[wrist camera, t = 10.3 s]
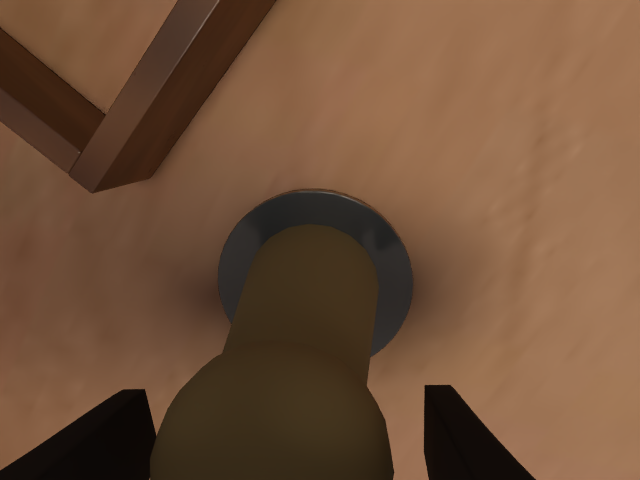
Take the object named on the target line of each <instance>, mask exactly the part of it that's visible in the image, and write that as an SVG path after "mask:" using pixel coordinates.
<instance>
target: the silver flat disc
mask: <svg viewBox="0 0 640 480" xmlns="http://www.w3.org/2000/svg"><path fill="white" fill-rule="evenodd" d="M305 224H315V225H323V226H331V227H333V228H335V229H337V230H339V231H341V232H344V233H346V234H348V235H350V236H351V237H352V238H354V239H355V240H356V241H357V242H358V243H359V244H360V245H361V246H362V247H363V248H364V249H366V251H367V253H368V255H369V256H370V258H371V260H372V262H373V264H374V265H375V267H376V272H377V278H378V284H379V291H378V299H377V307H376V315H375V323H374V331H373V339H372V346H371V354H370V357H371V356H373V355H375V354H376V353H378V352H379V351H380V350H381V349H383V348H384V347H385V346H386V345H387V344H388V343H389V342H390V341H391V340H392V339H393V338H394V336H395V335H396V334H397V332H398V331H399V329H400V328H401V326H402V324H403V322H404V321H405V319H406V316H407V313H408V311H409V308H410V304H411V299H412V293H413V275H412V268H411V264H410V259H409V257H408V254H407V251H406V249H405V246H404V244H403V243H402V241H401V239H400V237H399V235H398V234H397V232H396V231H395V230H394V228H393V227H392V226H391V224H390V223H389V222H388V221H387V220H386V219H385V218H384V217H383V216H382V215H381V214H380V213H378V212H377V211H376V210H375V209H373V208H372V207H371V206H369V205H367V204H366V203H364V202H362V201H360V200H359V199H356V198H354V197H351V196H349V195H347V194H343V193H339V192H336V191H331V190H323V189H303V190H295V191H290V192H286V193H283V194H280V195H277V196H275V197H272V198H270V199H268V200H266V201H264V202H263V203H261V204H259V205H258V206H256V207H255V208H254V209H253V210H251V211H250V212H249V213H248V214H246V215H245V216H244V217H243V218H242V220H241V221H240V222H239V223H238V224H237V225H236V226H235V228H234V229H233V231H232V232H231V233H230V235H229V237H228V239H227V241H226V243H225V245H224V248H223V251H222V253H221V257H220V262H219V267H218V287H219V294H220V298H221V302H222V305H223V308H224V310H225V313H226V315H227V317H228V319H229V321H230V322H231V324H232V321H233V318H234V315H235V312H236V309H237V306H238V303H239V299H240V296H241V293H242V290H243V287H244V284H245V281H246V278H247V274H248V271H249V268H250V266H251V264H252V261H253V259H254V257H255V254H256V252H257V251H258V250H259V249H260V248H261V247H262V245H263V244H264V243H265V242H266V241H267V240H268V239H269V238H270V237H271V236H273V235H275V234H277V233H279V232H281V231H283V230H284V229H286V228H288V227H294V226H299V225H305Z"/></svg>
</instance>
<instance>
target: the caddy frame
mask: <svg viewBox="0 0 640 480" xmlns="http://www.w3.org/2000/svg"><path fill="white" fill-rule="evenodd" d="M275 1H276V0H178V1H177V3H176V4H175V6H174V8H173V9H172V11H171V12H170V14H169V16H168V17H167V19H166V20H165V22H164V24H163V25H162V27H161V28H160V30H159V31H158V33H157V35H156V36H155V38H154V39H153V41H152V43H151V44H150V46H149V47H148V49H147V51H146V52H145V54H144V55H143V57H142V58H141V60H140V62H139V63H138V65H137V66H136V68H135V70H134V71H133V73H132V74H131V76H130V78H129V79H128V81H127V82H126V84H125V86H124V87H123V89H122V90H121V92H120V93H119V95H118V97H117V98H116V100H115V101H114V103H113V105H112V106H111V108H110V109H109V111H108V113H107V114H106V116H105V115H104V114H103V113H102V112H100V111H99V110H98V109H97V108H96V107H94V106H93V105H92V104H91V103H89V102H88V101H87V100H86V99H85V98H83V97H82V96H81V95H80V94H79V93H77V92H76V91H75V90H74V89H73V88H71V87H70V86H69V85H68V84H66V83H65V82H64V81H63V80H62V79H60V78H59V77H58V76H57V75H56V74H54V73H53V72H52V71H51V70H50V69H48V68H47V67H46V66H45V65H43V64H42V63H41V62H40V61H39V60H37V59H36V58H35V57H34V56H33V55H31V54H30V53H29V52H28V51H27V50H25V49H24V48H23V47H22V46H21V45H19V44H18V43H17V42H16V41H14V40H13V39H12V38H11V37H10V36H8V35H7V34H6V33H5V32H4V31H2V30H1V29H0V121H1V122H2V123H3V124H5V125H6V126H7V127H9V128H10V129H11V130H12V131H14V132H15V133H16V134H17V135H19V136H20V137H21V138H23V139H24V140H25V141H26V142H28V143H29V144H30V145H31V146H33V147H34V148H35V149H37V150H38V151H39V152H40V153H42V154H43V155H44V156H45V157H47V158H48V159H49V160H50V161H52V162H53V163H54V164H56V165H57V166H58V167H59V168H61V169H62V170H63V171H64V172H66V173H68V174H69V176H70V177H71V178H73V179H74V180H75V181H76V182H78V183H79V184H80V185H81V186H83V187H84V188H85V189H87V190H88V191H89V192H90V193H96V192H100V191H104V190H108V189H111V188H115V187H119V186H123V185H126V184H130V183H134V182H138V181H141V180H145V179H149V178H150V177H151V176H152V175H153V173H154V172H155V170H156V169H157V168H158V166H159V165H160V163H161V162H162V160H163V159H164V158H165V156H166V155H167V153H168V152H169V151H170V149H171V148H172V146H173V145H174V143H175V142H176V141H177V139H178V138H179V136H180V135H181V134H182V132H183V131H184V129H185V128H186V127H187V125H188V124H189V122H190V121H191V119H192V118H193V117H194V115H195V114H196V112H197V111H198V110H199V108H200V107H201V105H202V104H203V103H204V101H205V100H206V98H207V97H208V95H209V94H210V93H211V91H212V90H213V88H214V87H215V86H216V84H217V83H218V81H219V80H220V79H221V77H222V76H223V74H224V73H225V71H226V70H227V69H228V67H229V66H230V64H231V63H232V62H233V60H234V59H235V57H236V56H237V55H238V53H239V52H240V50H241V49H242V47H243V46H244V45H245V43H246V42H247V40H248V39H249V38H250V36H251V35H252V33H253V32H254V31H255V29H256V28H257V26H258V25H259V23H260V22H261V21H262V19H263V18H264V16H265V15H266V14H267V12H268V11H269V9H270V8H271V7H272V5H273V4H274V2H275Z"/></svg>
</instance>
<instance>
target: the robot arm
mask: <svg viewBox="0 0 640 480" xmlns="http://www.w3.org/2000/svg"><path fill="white" fill-rule="evenodd" d="M155 440H156V432H155V428H154V424H153V420H152V416H151V412H150V408H149V404H148V400H147V396H146V391H145V389H124V390H121V391H120V392H118V393H116V394H115V395H113V396H111V397H110V398H108V399H107V400H105V401H104V402H102V403H101V404H99V405H98V406H96V407H95V408H93V409H92V410H90V411H89V412H87V413H86V414H84V415H83V416H81V417H80V418H78V419H77V420H76V421H74V422H73V423H71V424H70V425H68V426H67V427H65V428H64V429H62V430H61V431H59V432H58V433H56V434H55V435H53V436H52V437H51V438H49V439H48V440H46V441H45V442H43V443H42V444H40V445H39V446H37V447H36V448H34V449H33V450H31V451H30V452H28V453H27V454H25V455H24V456H22V457H21V458H19V459H17V460H16V461H14V462H13V463H11V464H10V465H8V466H7V467H5V468H3V469H2V470H0V480H149V478H150V457H151V453H152V450H153V447H154V443H155ZM424 455H425V460H426V466H427V471H428V477H429V480H536V479H535V478H534V477H533V476H532V475H531V474H530V473H529V472H528V471H527V470H526V469H525V468H524V467H523V466H522V465H521V464H520V463H519V462H518V461H517V460H516V459H515V458H514V457H513V456H512V455H511V453H510V452H509V451H508V450H507V449H506V448H505V447H504V446H503V445H502V444H501V443H500V442H499V441H498V439H497V438H496V437H495V436H494V435H493V434H492V433H491V432H490V431H489V429H488V428H487V427H486V426H485V425H484V424H483V423H482V421H481V420H480V419H479V418H478V417H477V416H476V414H475V413H474V412H473V411H472V410H471V408H470V407H469V406H468V405H467V404H466V402H465V401H464V400H463V399H462V398H461V396H460V395H459V394H458V393H457V391H456V390H455V389H454V388H453V387H452V386H451V385H425V400H424Z"/></svg>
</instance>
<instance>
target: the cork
mask: <svg viewBox="0 0 640 480" xmlns="http://www.w3.org/2000/svg"><path fill="white" fill-rule="evenodd" d="M378 291H379V284H378V278H377V272H376V267H375V265H374V264H373V262H372V260H371V258H370V256H369V255H368V253H367V251H366V249H364V248H363V247H362V246H361V245H360V244H359V243H358V242H357V241H356V240H355V239H354V238H352V237H351V236H350V235H348V234H346V233H344V232H341V231H339V230H337V229H335V228H333V227H331V226H323V225H315V224H305V225H299V226H294V227H288V228H286V229H284V230H283V231H281V232H279V233H277V234H275V235H273V236H271V237H270V238H269V239H268V240H267V241H266V242H265V243H264V244H263V245H262V247H261V248H260V249H259V250H258V251H257V252H256V254H255V257H254V259H253V261H252V264H251V266H250V268H249V271H248V274H247V278H246V281H245V284H244V287H243V290H242V293H241V296H240V299H239V303H238V306H237V309H236V312H235V315H234V318H233V321H232V325H231V328H230V331H229V334H228V337H227V340H226V343H225V346H224V350H223V353H222V354H220V355H218V356H216V357H215V358H213V359H212V360H211V361H210V362H209V363H207V364H206V365H205V366H204V367H202V368H201V369H200V370H199V371H198V372H197V373H196V374H195V375H194V376H193V377H192V378H191V379H190V380H189V381H188V382H187V383H186V385H185V386H184V387H183V388H182V389H181V390H180V391H179V392H178V394H177V395H176V397H175V398H174V400H173V401H172V403H171V404H170V406H169V407H168V409H167V412H166V414H165V417H164V419H163V422H162V424H161V427H160V429H159V432H158V434H157V437H156V440H155V443H154V447H153V450H152V453H151V457H150V480H393V476H394V469H393V462H392V455H391V449H390V443H389V438H388V433H387V427H386V422H385V419H384V417H383V415H382V413H381V411H380V408H379V406H378V404H377V402H376V401H375V399H374V397H373V396H372V394H371V392H370V391H369V389H368V388H367V378H368V370H369V362H370V354H371V346H372V339H373V331H374V323H375V315H376V307H377V299H378Z"/></svg>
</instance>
